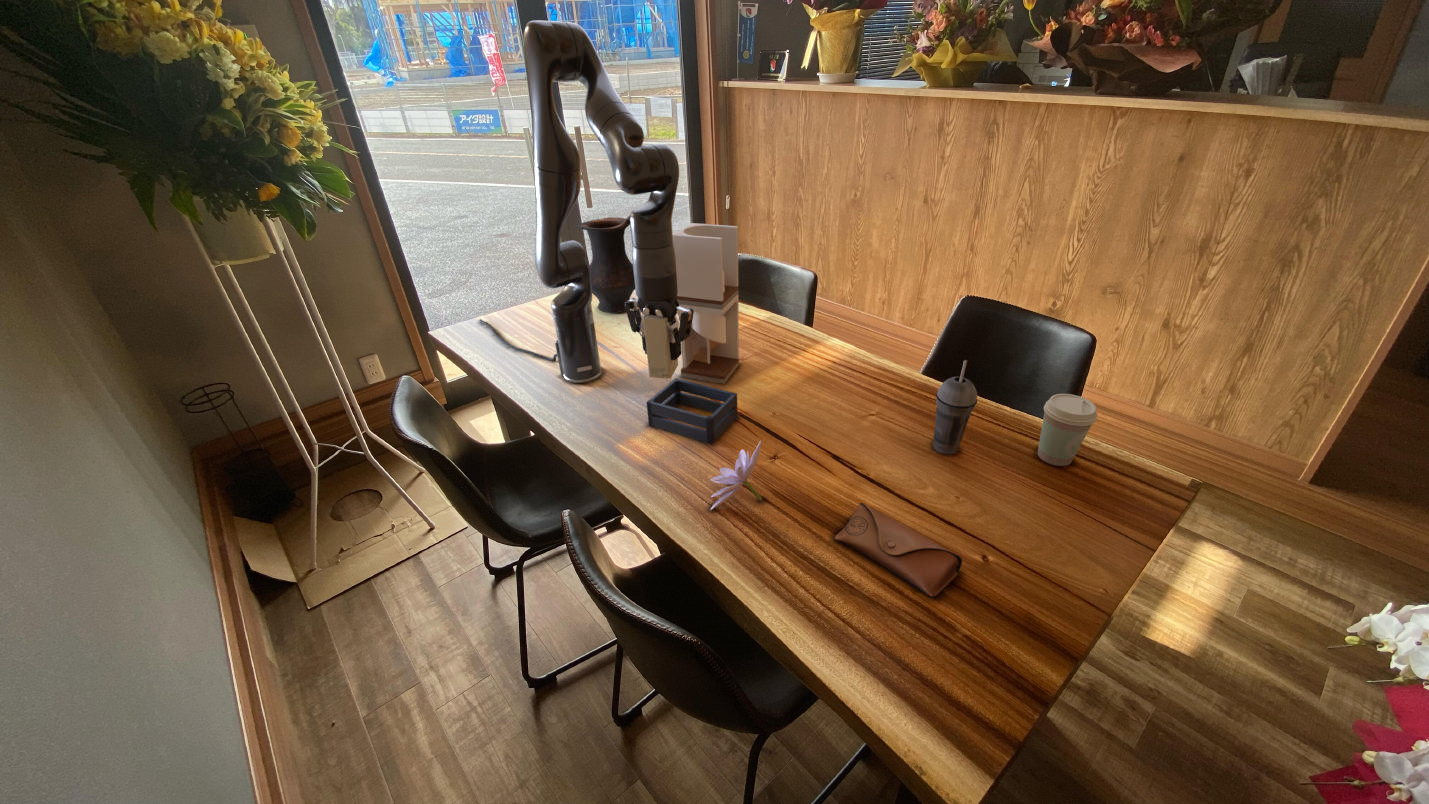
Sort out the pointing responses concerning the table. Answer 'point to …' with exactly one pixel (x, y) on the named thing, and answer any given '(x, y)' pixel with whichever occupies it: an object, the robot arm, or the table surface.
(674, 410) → the crate
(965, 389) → the beverage cup
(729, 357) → the two-tier display stand
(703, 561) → the table surface
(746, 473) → the water lily
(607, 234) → the jug
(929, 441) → the table surface
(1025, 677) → the table surface
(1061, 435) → the coffee cup
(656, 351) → the cosmetic box
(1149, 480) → the table surface
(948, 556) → the sunglasses case
